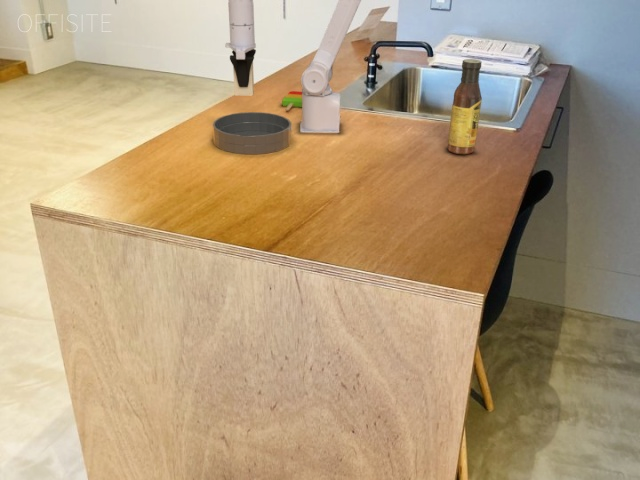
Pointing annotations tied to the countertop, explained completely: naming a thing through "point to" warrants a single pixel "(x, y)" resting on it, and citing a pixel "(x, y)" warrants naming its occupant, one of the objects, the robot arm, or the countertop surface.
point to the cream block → (244, 90)
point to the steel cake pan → (252, 133)
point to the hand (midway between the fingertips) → (244, 83)
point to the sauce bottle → (465, 110)
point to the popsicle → (292, 100)
